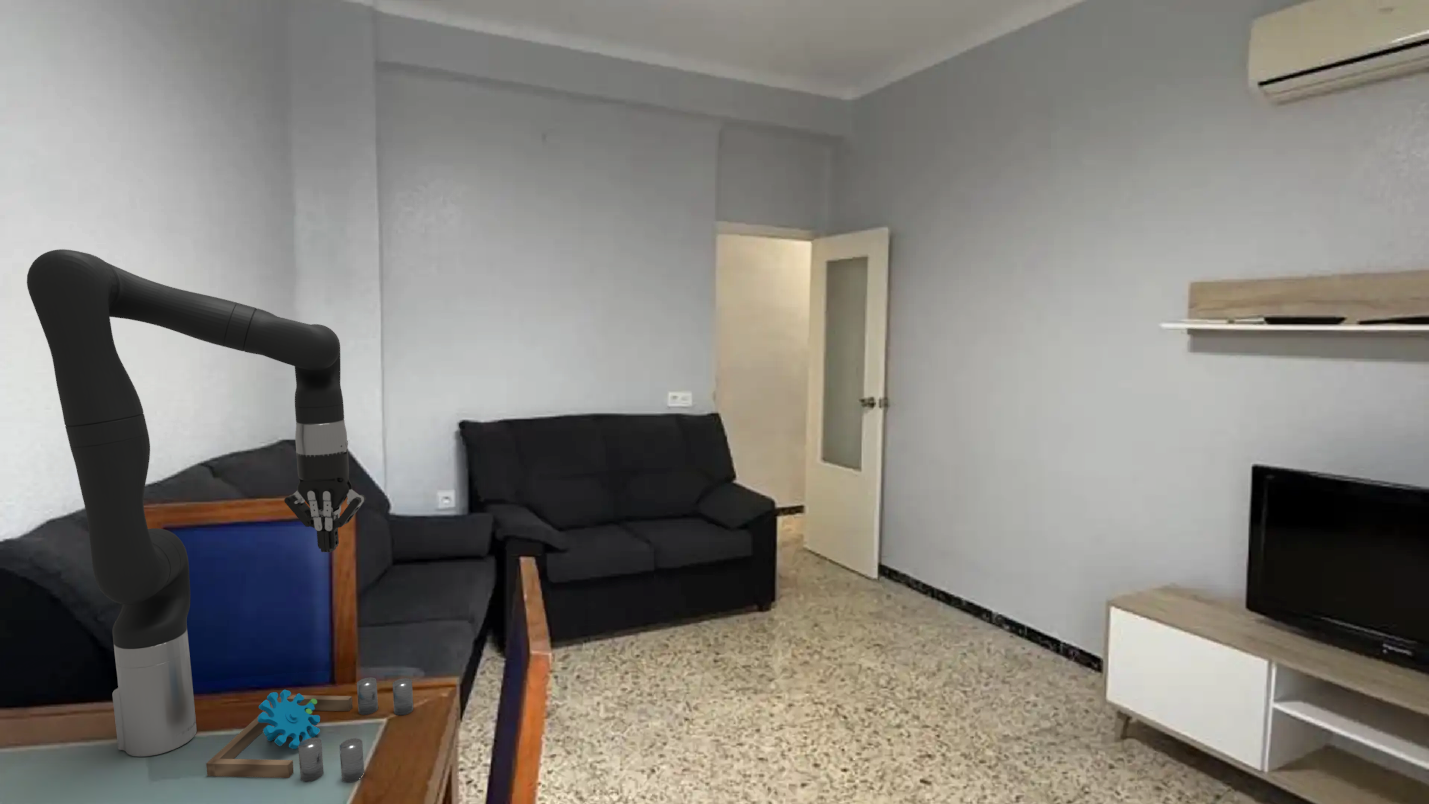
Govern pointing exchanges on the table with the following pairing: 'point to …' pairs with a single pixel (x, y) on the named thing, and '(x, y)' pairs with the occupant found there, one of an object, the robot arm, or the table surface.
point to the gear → (288, 718)
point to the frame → (225, 757)
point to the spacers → (353, 747)
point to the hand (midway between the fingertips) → (328, 550)
